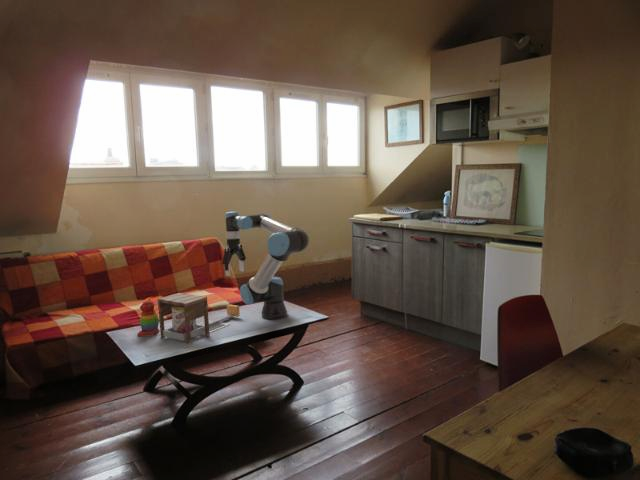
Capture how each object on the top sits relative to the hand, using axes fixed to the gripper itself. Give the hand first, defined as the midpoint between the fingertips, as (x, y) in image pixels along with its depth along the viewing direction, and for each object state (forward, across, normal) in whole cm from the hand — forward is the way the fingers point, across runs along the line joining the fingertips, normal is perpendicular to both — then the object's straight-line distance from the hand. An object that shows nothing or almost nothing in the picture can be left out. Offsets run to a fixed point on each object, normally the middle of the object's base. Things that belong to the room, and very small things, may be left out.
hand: (235, 273), depth 268 cm
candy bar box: (+25, +42, -3) cm, 49 cm away
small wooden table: (+25, +42, -3) cm, 49 cm away
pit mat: (+25, +26, -1) cm, 36 cm away
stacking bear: (+25, +44, -25) cm, 57 cm away
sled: (+24, +27, -1) cm, 36 cm away
